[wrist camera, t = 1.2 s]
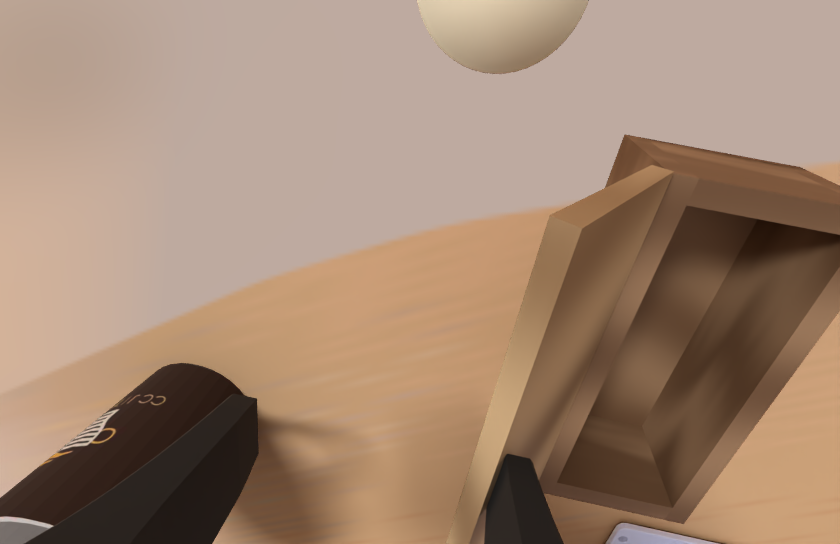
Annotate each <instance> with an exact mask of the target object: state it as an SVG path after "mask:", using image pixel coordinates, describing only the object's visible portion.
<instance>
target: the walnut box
mask: <svg viewBox="0 0 840 544" xmlns="http://www.w3.org/2000/svg"><path fill="white" fill-rule="evenodd" d="M651 165H654V166H658V167H661V168H664V169H668V170H671V171H674V173H673V176H672V178H671V180H670V182H669V185H668V187H667V189H666V192H665V194H664V196H663V198H662V201H661V203H660V205H659V208H658V210H657V212H656V214H655V217H654V219H653V221H652V224H651V226H650V228H649V230H648V233H647V235H646V237H645V239H644V242H643V244H642V246H641V249H640V251H639V253H638V255H637V258H636V260H635V262H634V265H633V267H632V269H631V271H630V274H629V276H628V278H627V281H626V283H625V285H624V287H623V290H622V292H621V294H620V297H619V299H618V301H617V303H616V306H615V308H614V310H613V313H612V315H611V317H610V319H609V322H608V324H607V326H606V329H605V331H604V333H603V335H602V338H601V340H600V342H599V345H598V347H597V349H596V351H595V354H594V356H593V358H592V361H591V363H590V365H589V367H588V370H587V372H586V374H585V376H584V379H583V381H582V383H581V386H580V388H579V390H578V392H577V395H576V397H575V399H574V402H573V404H572V406H571V408H570V411H569V413H568V415H567V418H566V420H565V422H564V424H563V427H562V429H561V431H560V434H559V436H558V438H557V440H556V443H555V445H554V447H553V450H552V452H551V454H550V456H549V459H548V461H547V463H546V466H545V468H544V470H543V472H542V475H541V477H540V479H539V482H540V485H541V488H542V491H543V493H546V494H551V495H555V496H560V497H564V498H569V499H573V500H578V501H582V502H587V503H591V504H596V505H600V506H605V507H609V508H614V509H618V510H623V511H627V512H632V513H636V514H641V515H645V516H650V517H654V518H659V519H663V520H668V521H672V522H677V523H681V524H684V523H685V521H686V520H687V519H688V517H689V516H690V515H691V513H692V512H693V510H694V509H695V508H696V506H697V505H698V504H699V502H700V501H701V500H702V498H703V497H704V495H705V494H706V493H707V491H708V490H709V489H710V487H711V486H712V484H713V483H714V482H715V480H716V479H717V478H718V476H719V475H720V474H721V472H722V471H723V469H724V468H725V467H726V465H727V464H728V463H729V461H730V460H731V459H732V457H733V456H734V454H735V453H736V452H737V450H738V449H739V448H740V446H741V445H742V444H743V442H744V441H745V439H746V438H747V437H748V435H749V434H750V433H751V431H752V430H753V428H754V427H755V426H756V424H757V423H758V422H759V420H760V419H761V418H762V416H763V415H764V413H765V412H766V411H767V409H768V408H769V407H770V405H771V404H772V403H773V401H774V400H775V398H776V397H777V396H778V394H779V393H780V392H781V390H782V389H783V388H784V386H785V385H786V383H787V382H788V381H789V379H790V378H791V377H792V375H793V374H794V372H795V371H796V370H797V368H798V367H799V366H800V364H801V363H802V362H803V360H804V359H805V357H806V356H807V355H808V353H809V352H810V351H811V349H812V348H813V347H814V345H815V344H816V342H817V341H818V340H819V338H820V337H821V336H822V334H823V333H824V332H825V330H826V329H827V327H828V326H829V325H830V323H831V322H832V321H833V319H834V318H835V316H836V315H837V314H838V312H839V311H840V186H839V185H837V184H835V183H832V182H830V181H828V180H826V179H824V178H822V177H820V176H818V175H815V174H813V173H811V172H809V171H807V170H805V169H803V168H801V167H796V166H791V165H786V164H780V163H775V162H769V161H764V160H758V159H753V158H748V157H742V156H737V155H732V154H727V153H721V152H715V151H710V150H705V149H699V148H694V147H689V146H684V145H678V144H673V143H667V142H662V141H657V140H651V139H645V138H641V137H635V136H630V135H624V138H623V140H622V143H621V146H620V149H619V151H618V154H617V157H616V160H615V162H614V165H613V168H612V170H611V173H610V176H609V178H608V181H607V184H606V187H608V186H610V185H612V184H614V183H616V182H618V181H620V180H622V179H624V178H626V177H628V176H630V175H632V174H634V173H636V172H638V171H640V170H643V169H645V168H647V167H649V166H651ZM606 187H605V188H606Z"/></svg>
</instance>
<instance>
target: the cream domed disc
mask: <svg viewBox="0 0 840 544" xmlns="http://www.w3.org/2000/svg"><path fill="white" fill-rule="evenodd" d="M588 1H589V0H417V3H418V6H419V10H420V14H421V16H422V19H423V21H424V24H425V26H426V28H427V30H428V32H429V34H430V35H431V37H432V38H433V40H434V41H435V42H436V44H437V45H438V46H439V47H440V48H441V49H442V50H443V51H444V53H445V54H447V55H448V56H449V57H450V58H452V59H453V60H454V61H456V62H458V63H459V64H461V65H463V66H465V67H467V68H470V69H472V70H475V71H479V72H483V73H492V74H501V73H510V72H516V71H519V70H522V69H525V68H528V67H530V66H532V65H534V64H536V63H538V62H540V61H541V60H543V59H545V58H546V57H548V56H549V55H550V54H551V53H553V52H554V51H555V50H556V49H557V48H558V47H559V46H560V45H561V44H562V43H563V42H564V41H565V40H566V39H567V38H568V36H569V35H570V34H571V33H572V31H573V30H574V29H575V27H576V25H577V23H578V22H579V20H580V19H581V17H582V15H583V13H584V11H585V8H586V6H587V4H588Z"/></svg>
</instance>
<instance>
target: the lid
mask: <svg viewBox="0 0 840 544" xmlns="http://www.w3.org/2000/svg"><path fill="white" fill-rule="evenodd" d="M673 173H674V171H671V170H668V169H664V168H661V167H658V166H654V165H651V166H649V167H647V168H645V169H643V170H640V171H638V172H636V173H634V174H632V175H630V176H628V177H626V178H624V179H622V180H620V181H618V182H616V183H614V184H612V185H610V186H608V187H606V188H604V189H602V190H601V191H598V192H596V193H594V194H592V195H590V196H588V197H586V198H584V199H582V200H580V201H578V202H576V203H574V204H572V205H570V206H568V207H566V208H564V209H562V210H560V211H558V212H556V213H554V214H552V215H550V216H549V220H548V223H547V226H546V229H545V232H544V235H543V239H542V242H541V245H540V248H539V251H538V254H537V257H536V261H535V264H534V267H533V270H532V273H531V276H530V280H529V283H528V286H527V289H526V292H525V295H524V299H523V302H522V305H521V308H520V311H519V314H518V318H517V321H516V324H515V327H514V330H513V333H512V337H511V340H510V343H509V346H508V349H507V352H506V356H505V359H504V362H503V365H502V368H501V371H500V374H499V378H498V381H497V384H496V387H495V390H494V393H493V397H492V400H491V403H490V406H489V409H488V412H487V416H486V419H485V422H484V425H483V428H482V431H481V435H480V438H479V441H478V444H477V447H476V450H475V454H474V457H473V460H472V463H471V466H470V469H469V472H468V476H467V479H466V482H465V485H464V488H463V491H462V495H461V498H460V501H459V504H458V507H457V510H456V514H455V517H454V520H453V523H452V526H451V529H450V533H449V536H448V539H447V542H446V544H484V537H485V521H486V508H487V505H488V502H489V500H490V497H491V494H492V491H493V489H494V486H495V483H496V481H497V478H498V475H499V472H500V470H501V467H502V464H503V461H504V459H505V456H506V455H507V454H512V455H516V456H521V457H526V458H530V459H531V461H532V462H533V464H534V468H535V471H536V474H537V477H538V479H540V477H541V475H542V472H543V470H544V468H545V466H546V463H547V461H548V459H549V456H550V454H551V452H552V450H553V447H554V445H555V443H556V440H557V438H558V436H559V434H560V431H561V429H562V427H563V424H564V422H565V420H566V418H567V415H568V413H569V411H570V408H571V406H572V404H573V402H574V399H575V397H576V395H577V392H578V390H579V388H580V386H581V383H582V381H583V379H584V376H585V374H586V372H587V370H588V367H589V365H590V363H591V361H592V358H593V356H594V354H595V351H596V349H597V347H598V345H599V342H600V340H601V338H602V335H603V333H604V331H605V329H606V326H607V324H608V322H609V319H610V317H611V315H612V313H613V310H614V308H615V306H616V303H617V301H618V299H619V297H620V294H621V292H622V290H623V287H624V285H625V283H626V281H627V278H628V276H629V274H630V271H631V269H632V267H633V265H634V262H635V260H636V258H637V255H638V253H639V251H640V249H641V246H642V244H643V242H644V239H645V237H646V235H647V233H648V230H649V228H650V226H651V224H652V221H653V219H654V217H655V214H656V212H657V210H658V208H659V205H660V203H661V201H662V198H663V196H664V194H665V192H666V189H667V187H668V185H669V182H670V180H671V178H672V176H673Z"/></svg>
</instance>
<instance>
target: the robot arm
mask: <svg viewBox="0 0 840 544" xmlns="http://www.w3.org/2000/svg"><path fill="white" fill-rule="evenodd" d="M257 455H258V419H257V399H256V398H252V397H247V396H243V395H238V394H232V395H231V396H229V397H228V398H227V399H226V400H224V401H223V402H222V403H221V404H220V405H218V406H217V407H216V408H215V409H214V410H213V411H211V412H210V413H209V414H208V415H207V416H205V417H204V418H203V419H202V420H201V421H199V422H198V423H197V424H196V425H195V426H193V427H192V428H191V429H190V430H188V431H187V432H186V433H185V434H184V435H182V436H181V437H180V438H179V439H177V440H176V441H175V442H173V443H172V444H171V445H170V446H168V447H167V448H166V449H164V450H163V451H162V452H161V453H159V454H158V455H157V456H156V457H154V458H153V459H152V460H150V461H149V462H148V463H146V464H145V465H143V466H142V467H141V468H139V469H138V470H137V471H135V472H134V473H132V474H131V475H130V476H128V477H127V478H125V479H124V480H123V481H121V482H120V483H119V484H117V485H116V486H114V487H113V488H112V489H110V490H109V491H107V492H106V493H104V494H103V495H101V496H100V497H98V498H97V499H95V500H94V501H92V502H91V503H89V504H88V505H86V506H85V507H83V508H82V509H80V510H78V511H77V512H75V513H74V514H72V515H71V516H69V517H67V518H66V519H64V520H63V521H61V522H59V523H58V524H56V525H54V526H53V527H51V528H49V529H48V530H46V531H44V532H43V533H41V534H39V535H38V536H36V537H34V538H32V539H31V540H29V541H27V542H26V543H24V544H212V543H213V541H214V539H215V538H216V536H217V534H218V532H219V531H220V529H221V527H222V526H223V524H224V522H225V520H226V519H227V517H228V515H229V513H230V511H231V510H232V508H233V506H234V504H235V503H236V501H237V499H238V497H239V496H240V494H241V492H242V490H243V487H244V485H245V483H246V481H247V478H248V476H249V474H250V472H251V469H252V467H253V465H254V462H255V460H256V458H257ZM484 544H564V543H563V541H562V539H561V536H560V534H559V532H558V529H557V527H556V524H555V522H554V520H553V517H552V514H551V512H550V509H549V507H548V504H547V502H546V499H545V496H544V494H543V491H542V488H541V485H540V482H539V479H538V477H537V474H536V471H535V468H534V464H533V462H532V461H531V459H530V458H526V457H521V456H516V455H512V454H507V455H506V456H505V459H504V461H503V464H502V467H501V470H500V472H499V475H498V478H497V481H496V483H495V486H494V489H493V491H492V494H491V497H490V500H489V502H488V505H487V508H486V521H485V537H484ZM606 544H719V543H714V542H710V541H705V540H701V539H696V538H692V537H687V536H683V535H678V534H674V533H669V532H665V531H661V530H656V529H652V528H647V527H643V526H638V525H634V524H629V523H620V524H618V525H617V526H616V527H615V529H614V531H613V532H612V534H611V536H610V537H609V539H608V540H607V542H606Z"/></svg>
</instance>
